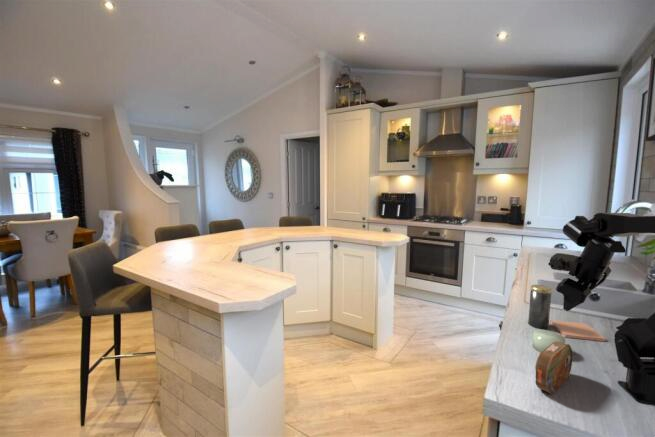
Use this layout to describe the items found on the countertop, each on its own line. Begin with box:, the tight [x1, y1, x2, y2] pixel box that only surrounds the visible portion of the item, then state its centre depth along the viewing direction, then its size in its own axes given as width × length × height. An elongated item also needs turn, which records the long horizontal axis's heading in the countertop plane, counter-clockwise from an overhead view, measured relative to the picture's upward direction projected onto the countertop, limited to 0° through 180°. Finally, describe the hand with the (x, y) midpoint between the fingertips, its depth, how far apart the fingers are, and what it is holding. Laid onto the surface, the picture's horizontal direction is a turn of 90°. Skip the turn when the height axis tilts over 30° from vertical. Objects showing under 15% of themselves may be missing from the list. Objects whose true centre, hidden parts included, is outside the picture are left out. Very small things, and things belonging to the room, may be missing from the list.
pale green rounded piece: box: [532, 329, 566, 354], centre depth 85 cm, size 7×7×4 cm
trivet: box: [549, 319, 607, 342], centre depth 96 cm, size 10×10×1 cm
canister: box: [527, 284, 553, 330], centre depth 99 cm, size 5×5×12 cm
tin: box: [535, 342, 573, 395], centre depth 71 cm, size 15×3×8 cm, turn 126°
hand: (572, 302), depth 88 cm, fingers open, 9 cm apart
